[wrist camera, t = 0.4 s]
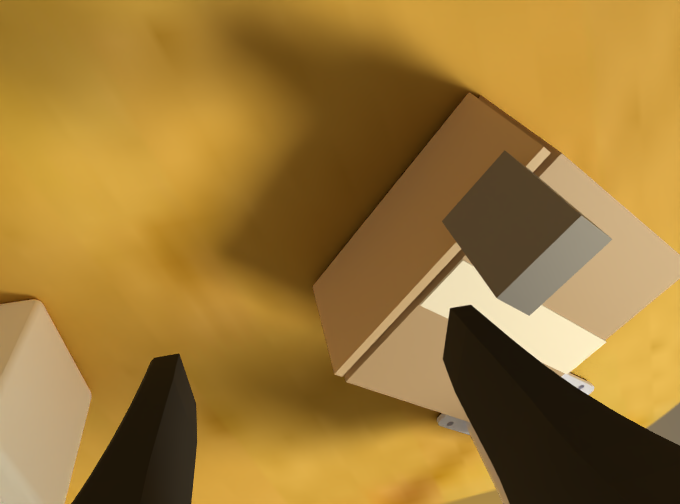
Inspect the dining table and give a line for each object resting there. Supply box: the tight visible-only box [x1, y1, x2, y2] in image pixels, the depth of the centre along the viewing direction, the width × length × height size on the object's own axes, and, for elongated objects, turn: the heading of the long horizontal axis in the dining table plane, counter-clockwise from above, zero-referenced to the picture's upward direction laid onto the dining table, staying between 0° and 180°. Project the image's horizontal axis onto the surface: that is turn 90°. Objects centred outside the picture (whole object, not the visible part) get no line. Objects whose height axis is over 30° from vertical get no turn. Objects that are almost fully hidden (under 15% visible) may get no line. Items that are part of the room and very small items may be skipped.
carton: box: [344, 96, 680, 422], centre depth 23 cm, size 10×12×6 cm
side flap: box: [312, 92, 612, 377], centre depth 18 cm, size 2×12×10 cm, turn 144°
